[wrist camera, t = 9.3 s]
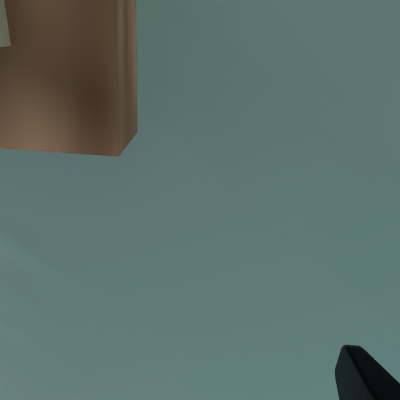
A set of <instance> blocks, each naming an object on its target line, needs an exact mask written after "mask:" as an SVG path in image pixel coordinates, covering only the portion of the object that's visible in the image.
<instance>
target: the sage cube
mask: <svg viewBox="0 0 400 400" xmlns="http://www.w3.org/2000/svg"><path fill="white" fill-rule="evenodd" d="M5 46H11V43H10V36H9V29H8V22H7V15H6V8H5V2H4V0H0V47H5Z"/></svg>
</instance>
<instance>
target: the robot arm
mask: <svg viewBox="0 0 400 400" xmlns="http://www.w3.org/2000/svg"><path fill="white" fill-rule="evenodd" d="M335 379H336V384H337V390H338V395H339V400H400V383H399V382H398V381H397V380H396V379H395V378H393V377H392V376H391V375H390V374H389V373H388V372H387V371H386V370H385V369H384V368H383V367H382V366H381V365H380V364H379V363H378V362H377V361H376V360H375V359H374V358H373V357H372V356H371V355H370V354H369V353H368V352H366V351H365V350H364V349H363V348H362V347H360V346H356V345H344V346H343V347H342V348H341V351H340V354H339V358H338V361H337V364H336V368H335Z"/></svg>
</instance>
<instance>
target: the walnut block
mask: <svg viewBox="0 0 400 400" xmlns="http://www.w3.org/2000/svg"><path fill="white" fill-rule="evenodd" d="M4 2H5V8H6V15H7V22H8V29H9V36H10V43H11V46H5V47H0V148H7V149H21V150H35V151H49V152H63V153H77V154H91V155H105V156H119V155H120V154H121V153H122V151H123V150H124V149H125V148H126V146H127V145H128V144H129V142H130V141H131V140H132V138H133V137H134V136H135V134H136V133H137V71H136V0H4Z"/></svg>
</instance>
